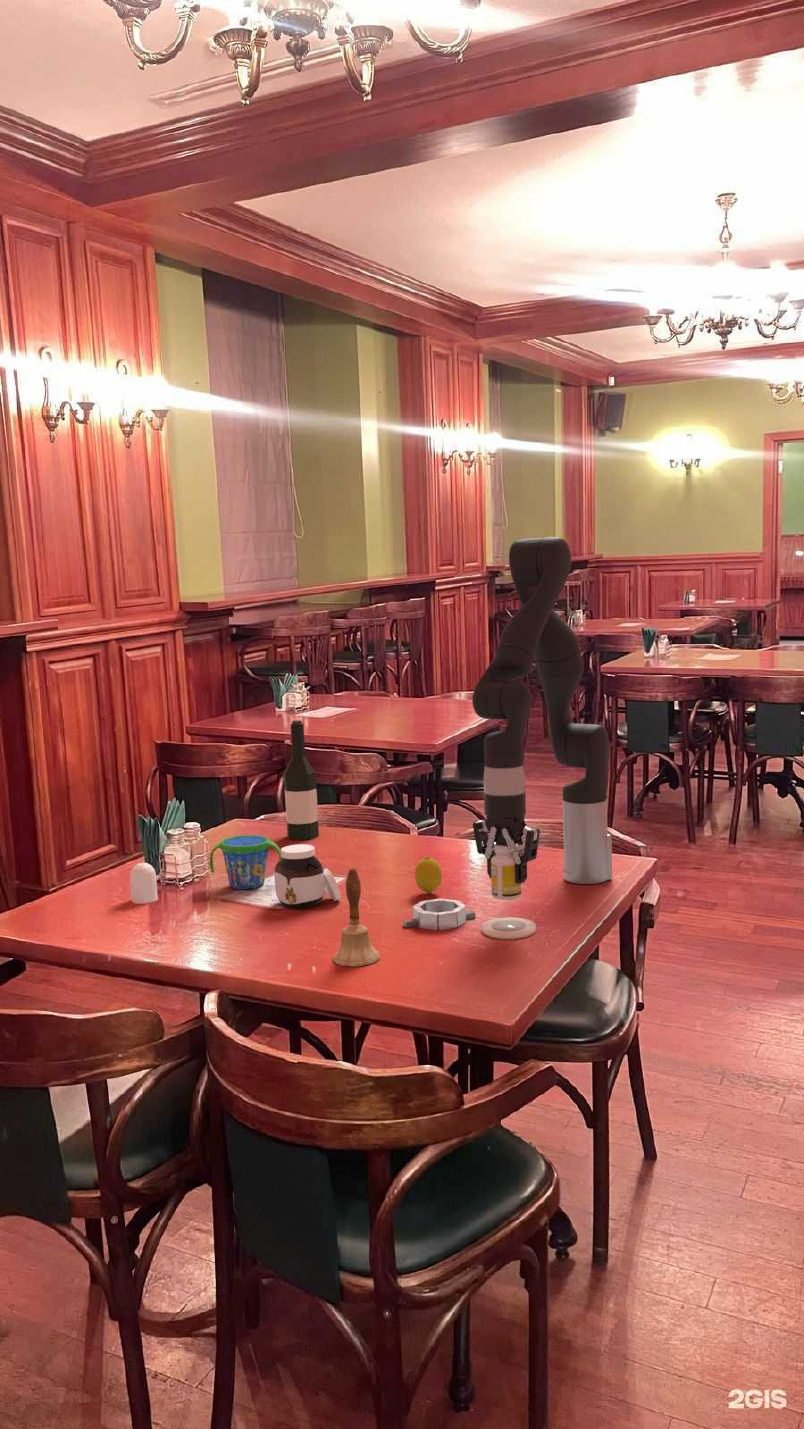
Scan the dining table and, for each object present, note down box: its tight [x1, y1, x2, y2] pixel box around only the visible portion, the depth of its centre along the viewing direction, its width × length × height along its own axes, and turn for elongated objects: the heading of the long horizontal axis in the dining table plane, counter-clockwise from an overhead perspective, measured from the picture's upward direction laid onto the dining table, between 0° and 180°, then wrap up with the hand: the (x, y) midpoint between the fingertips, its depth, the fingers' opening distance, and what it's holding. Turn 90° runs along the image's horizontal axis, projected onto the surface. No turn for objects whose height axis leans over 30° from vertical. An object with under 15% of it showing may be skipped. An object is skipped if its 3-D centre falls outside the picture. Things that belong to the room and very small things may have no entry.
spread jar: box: [274, 843, 342, 910], centre depth 227 cm, size 12×11×12 cm
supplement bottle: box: [490, 844, 522, 901], centre depth 203 cm, size 5×5×10 cm
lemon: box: [414, 856, 443, 895], centre depth 229 cm, size 6×6×8 cm
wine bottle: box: [283, 719, 320, 841], centre depth 283 cm, size 8×8×30 cm
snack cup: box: [208, 834, 282, 890], centre depth 241 cm, size 16×10×10 cm
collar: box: [402, 898, 476, 931], centre depth 211 cm, size 14×9×3 cm
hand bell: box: [332, 868, 381, 968], centre depth 192 cm, size 8×8×16 cm
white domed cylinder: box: [129, 862, 159, 905], centre depth 234 cm, size 5×5×8 cm
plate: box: [481, 917, 537, 940], centre depth 205 cm, size 10×10×1 cm
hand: (507, 879), depth 204 cm, fingers closed on supplement bottle, 5 cm apart
